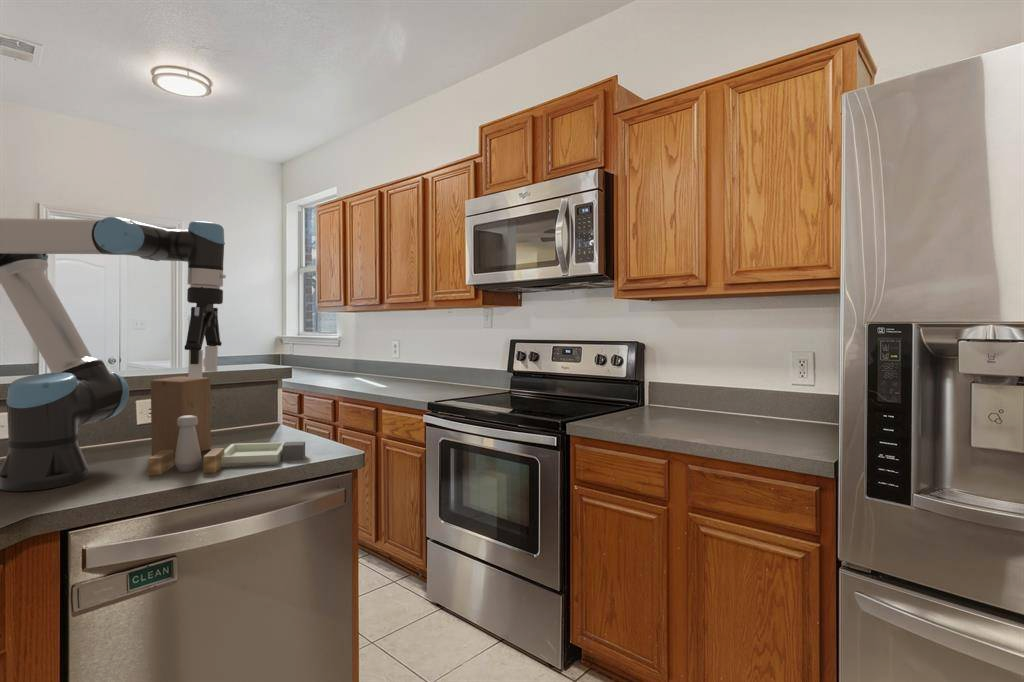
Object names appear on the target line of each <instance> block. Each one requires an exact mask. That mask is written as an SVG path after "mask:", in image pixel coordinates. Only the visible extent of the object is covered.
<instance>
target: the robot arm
mask: <svg viewBox="0 0 1024 682" xmlns="http://www.w3.org/2000/svg"><path fill="white" fill-rule="evenodd" d="M225 245H226V242H225V229H224V227H223V226H222V225H220V224H218V223H216V222H209V221H201V220H200V221H198V220H197V221H190V222H189V224H188V228H187V229H170V228H169V229H168V228H164V227H158V226H155V225H152V224H147V223H143V222H138V221H135V220H132V219H129V218H126V217H121V216H120V217H118V216H117V217H116V216H107V217H105V218H103V219H94V218H93V219H92V218H91V219H89V218H88V219H86V218H85V219H84V218H83V219H82V218H81V219H80V218H76V219H75V218H74V219H73V218H16V217H15V218H12V217H11V218H9V217H8V218H7V217H6V218H5V217H3V218H2V217H0V285H1V286H2V289H3V290H4V291H5V293H6V295H7V297H8V298H9V301H10V303H11V304H12V306H13V308H14V310H15V311H16V313H17V314H18V316H19V319H20V320H21V321H22V323H23V325H24V327H25V329H26V331H27V332H28V333H29V336H30V338H31V339H32V341H33V343H34V345H35V347H36V348H37V350H38V353H40V355H41V357H42V358H43V360H44V362H45V364H46V365H47V367H48V369H49V371H50V372H49V373H48V372H45V373H42V374H33V375H27V376H23V377H20V378H18V379H14V380H13V381H11V383H9V385H8V388H7V397H6V400H5V402H6V409H7V410H6V411H7V434H8V452H7V454H6V457H5V459H4V462H3V465H2V468H1V470H0V490H2V491H4V492H5V491H6V492H31V491H32V492H33V491H41V490H49V489H55V488H59V487H64V486H67V485H72V484H75V483H78V482H81V481H83V480H85V479H87V478H88V477H89V465H88V463H87V460H86V458H85V456H84V454H83V452H82V450H81V447H80V445H79V441H78V439H79V436H78V434H79V433H78V431H79V428H78V427H80V426H84V425H87V424H88V425H89V424H92V423H95V422H96V423H97V422H103V421H105V420H107V419H109V418H110V419H111V418H113V417H115V416H116V415H118V414H120V413H121V412H122V411H123V410H124V408H125V407H126V405H127V403H128V400H129V398H130V388H129V385H128V382H127V381H126V379H125V378H124V377H123V376H122V375H120V374H119V373H116V372H115V371H114V372H113V371H109V370H108V368H107V366H106V365H105V361H103V359H99V358H96V357H93V356H92V354H91V353H90V351H89V349H88V347H87V346H86V344H85V342H84V341H83V338H82V336H81V335H80V333H79V331H78V330H77V327H76V326H75V324H74V323H73V321H72V319H71V317H70V315H69V313H68V312H67V309H66V308H65V306H64V304H63V303H62V301H61V299H60V298H59V296H58V294H57V292H56V290H55V289H54V287H53V285H52V283H51V282H50V280H49V278H48V276H47V275H46V270H47V269H48V267H49V264H48V262H47V261H48V258H49V255H113V256H114V255H115V256H117V255H119V256H132V257H134V256H135V257H139V258H141V259H143V260H149V261H155V262H157V261H158V262H160V261H167V262H168V261H169V262H170V261H171V262H187V285H189V287H188V288H187V290H186V291H187V292H186V293H187V297H186V298H187V299H186V300H187V302H188V303H189V304H196V306H191V309H190V319H189V324H188V330H187V336H186V337H187V338H186V341H185V345H184V350H185V351H188V367H187V368H188V374H187V377H188V378H202V377H203V358H204V372H207V373H208V372H210V373H216V372H218V355H219V354H218V353H219V350H218V349H219V347H221V346H222V341H221V336H220V326H219V316H218V314H219V313H218V312H219V311H218V310H219V308H218V307H215V306H214V305H222V304H223V301H224V290H223V289H221V288H223V286H224V279H226V278H227V276H226V274H224V259H225V258H224V256H225V255H224V254H225ZM204 339H205V342H206V345H205V347H204V350H203V349H202V348H203V347H202V346H203V343H204Z"/></svg>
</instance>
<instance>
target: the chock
mask: <svg viewBox="0 0 1024 682" xmlns="http://www.w3.org/2000/svg"><path fill="white" fill-rule="evenodd" d="M284 442H285V441H284ZM305 457H306V441H286V442H285V443H284V444H283V458H282V461H283V460H284V461H303V460H304V459H305Z"/></svg>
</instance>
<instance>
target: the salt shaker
mask: <svg viewBox="0 0 1024 682" xmlns="http://www.w3.org/2000/svg"><path fill="white" fill-rule="evenodd" d="M197 424H198V419H197V417H196V416H193V415H186V416H181V417H179V418H178V420H177V425H178V426H179V427H180V431H179V436H178V442H177V448H176V453H175V457H174V458H173V464H174V465H175V466H176V468H177V470H178V472H180V473H181V472H182V473H183V472H184V473H185V472H186V473H187V472H188V473H189V472H194V471H197V469H198V468H199V466H200V464H201V462H202V459H203V457H202V452H200V447H199V443H198V438H197V433H196V429H195V425H197ZM193 470H194V471H193Z"/></svg>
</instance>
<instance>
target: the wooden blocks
mask: <svg viewBox="0 0 1024 682" xmlns="http://www.w3.org/2000/svg"><path fill="white" fill-rule="evenodd" d="M224 450H225V447H221V448H220V447H215V448H212V449H210V451H208V452H207V453H206V454H204V456H203V457H202V459H203V474H210V473H211V474H216V472H218V470H220V469H221V468H222V467H221V457H222V456H223V455H224ZM173 466H174V457H173V450H161V451H160V452H158V453H157V454H155V455H151V456H150V457H149V458H148V476H162V475H164V473H166V472H167V471H168V470H170V469H172V468H173Z"/></svg>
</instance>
